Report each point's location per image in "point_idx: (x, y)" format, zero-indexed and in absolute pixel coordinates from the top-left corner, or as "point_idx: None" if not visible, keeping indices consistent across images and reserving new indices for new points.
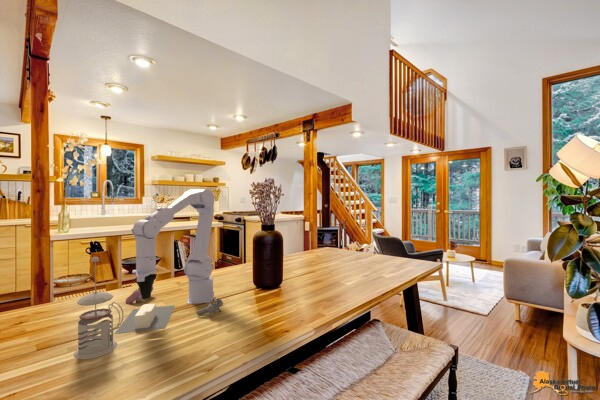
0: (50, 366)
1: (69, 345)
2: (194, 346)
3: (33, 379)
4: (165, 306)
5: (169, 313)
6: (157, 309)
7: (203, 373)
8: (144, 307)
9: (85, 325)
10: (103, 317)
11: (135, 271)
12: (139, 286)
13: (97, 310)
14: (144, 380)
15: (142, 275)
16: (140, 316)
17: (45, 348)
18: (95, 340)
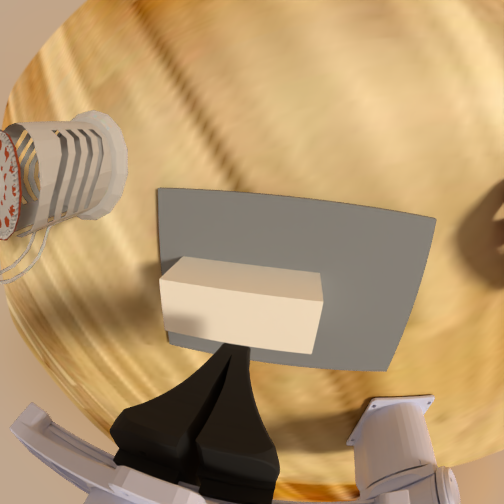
0: (47, 99)
1: (128, 67)
2: (92, 371)
3: (23, 102)
4: (394, 343)
5: (304, 361)
6: (377, 320)
7: (40, 356)
8: (268, 312)
9: None
10: (53, 182)
11: (112, 491)
12: (168, 393)
13: (16, 170)
14: (17, 290)
15: (27, 448)
16: (162, 298)
17: (136, 13)
18: (101, 149)
